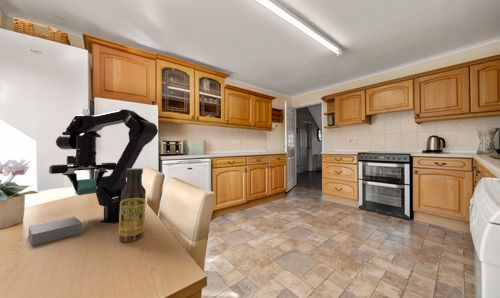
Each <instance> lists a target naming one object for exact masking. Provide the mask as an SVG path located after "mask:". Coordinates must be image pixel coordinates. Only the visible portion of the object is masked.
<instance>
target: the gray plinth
mask: <svg viewBox="0 0 500 298" xmlns="http://www.w3.org/2000/svg"><path fill="white" fill-rule="evenodd" d="M82 233H83V222H82V221H81V220H79V218H77V217H75V216H69V217H64V218H60V219H56V220H51V221H46V222H42V223H36V224H32V225H29V226H28V238H29V241H30V244H31V246H32V247H34V246H37V245H41V244H45V243H50V242H53V241H57V240H60V239H63V238H67V237H68V238H69V237H71V236H76V235H80V234H82Z"/></svg>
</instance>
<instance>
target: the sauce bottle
mask: <svg viewBox="0 0 500 298" xmlns="http://www.w3.org/2000/svg"><path fill="white" fill-rule="evenodd" d="M143 170H144V169H143V168H140V167H138V168H137V167H134V168H133V167H132V168H130V169H126V174H127V178H126V185H125V187H124V189H123V190H122V192H121V202H120V216H119V221H118V241H120V242H122V243H130V242H134V241H137V240H140V239H142V238H143V236H144V233H145V223H146V222H145V220H146V195H147V193H146V192H147V191H146V188H145V187H144V186H143V181H142V179H143V178H142V177H143V176H142V175H143V172H144V171H143Z"/></svg>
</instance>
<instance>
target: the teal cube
mask: <svg viewBox="0 0 500 298" xmlns="http://www.w3.org/2000/svg"><path fill="white" fill-rule="evenodd" d="M77 185H78V190H77V192H75V191H74V192H75V195H77V196H84V195H90V194H91V195H92V194H96V189H97V188H96V180H95V179H94V178H87V179H86V178H85V179H84V178H83V179H77Z"/></svg>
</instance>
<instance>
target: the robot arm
mask: <svg viewBox="0 0 500 298" xmlns="http://www.w3.org/2000/svg"><path fill="white" fill-rule="evenodd" d="M119 124H124V125H125V127H126V128H128V129H129V130H128V139H129V140H128V143H127V144H126V146H125V148H124V149H123V151H122V152H121V155H120V157H119V159H118V161H117V163H116V162H101V164H97V138H102V136H101V134H99V133H98V132H99V131H101V130H103V129H104V128H105V127H109V126H114V125H119ZM158 132H159V130H158V126H157V125H156V124H155V123H154V122H151V121H149V120H147V119H146V118H144V117H142V116H141V115H139V114H138V113H137V112H135V111H134V110H130V109H127V108H123V109H122V108H121V109H120V110H117V111H111V112H107V113H101V114H97V115H89V114H88V115H87V114H78V115H77V114H76V115H75V116H74V117H73V118H72V120H71V121H70V123H69V125H68V126H66V129H65V131H62V134H61V135H59V136H57V138H56V139H55V144H56V146H57V147H58V148H59V149H61V150H75V156H74V155H67V156H66V164H51V165H50V166H49V168H48V173H49V174H51V175H54V174H55V175H56V174H62V175H63V176H67V178H68V179H69V181H70V183H71V184H72V187H73V189H74V192H77V190H78V185H77V180H78V177H77V173H76V172H77V171H91V170H94V178H93V179H95V180H96V193H95V195H96V198H97V201H98V205H99V206H101V207H103V218H102V219H100V222H99V223H113V224H114V223H115V224H116V223H119V216H120V202H121V192H122V190H123V189H124V187H125V185H126V182H127V174H126V169H130V168H133V167H134V165H135V163H136V161H137V160H138V159H139V156H140V154H141V153H142V151H143V149H144V148H145V146H147V145H148V144H149V143H151V142H152V141H153V140H154V139H155V137H156V136H157V134H158ZM108 171H112V172H111V173H110V175H105V174H106V173H108ZM104 175H105V176H104Z"/></svg>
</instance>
